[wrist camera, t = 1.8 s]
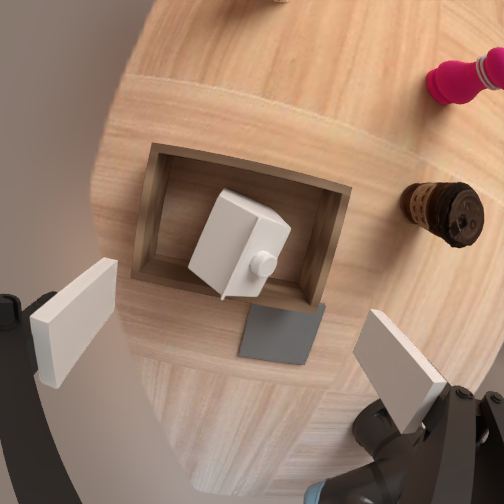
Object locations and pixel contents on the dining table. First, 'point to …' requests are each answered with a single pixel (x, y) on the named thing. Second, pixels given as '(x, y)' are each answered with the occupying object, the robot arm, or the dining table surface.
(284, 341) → the coaster
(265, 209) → the milk carton
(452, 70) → the pepper mill
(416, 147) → the dining table surface
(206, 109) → the dining table surface
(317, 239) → the crate
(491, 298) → the dining table surface
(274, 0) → the cup with straw
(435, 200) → the coffee cup
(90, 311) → the robot arm
